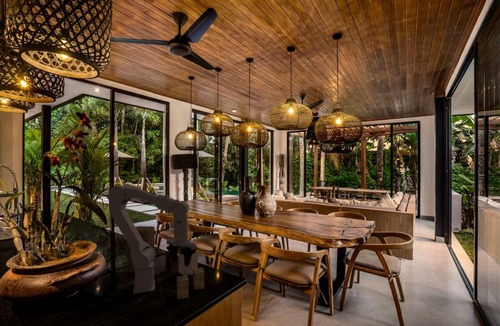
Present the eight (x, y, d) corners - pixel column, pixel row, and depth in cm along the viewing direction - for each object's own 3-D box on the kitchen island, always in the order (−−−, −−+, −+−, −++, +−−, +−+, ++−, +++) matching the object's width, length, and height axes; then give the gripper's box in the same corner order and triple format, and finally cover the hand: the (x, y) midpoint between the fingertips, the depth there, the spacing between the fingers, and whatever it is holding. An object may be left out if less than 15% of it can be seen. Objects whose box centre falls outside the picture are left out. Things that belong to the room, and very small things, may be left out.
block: (146, 273, 118) (147, 231, 118) (125, 273, 118) (125, 230, 118) (155, 265, 128) (155, 225, 128) (135, 265, 128) (136, 225, 128)
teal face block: (176, 294, 99) (176, 276, 99) (187, 292, 101) (187, 275, 101) (177, 299, 96) (177, 281, 96) (188, 297, 97) (188, 279, 97)
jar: (177, 275, 116) (177, 249, 116) (179, 268, 124) (179, 244, 124) (197, 274, 117) (197, 248, 117) (198, 267, 125) (198, 243, 125)
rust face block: (192, 285, 107) (192, 269, 107) (202, 284, 108) (202, 267, 108) (194, 290, 103) (194, 272, 103) (204, 288, 104) (204, 271, 104)
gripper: (160, 231, 105) (160, 263, 105) (187, 235, 98) (187, 270, 98) (173, 227, 111) (173, 258, 111) (199, 231, 104) (199, 264, 104)
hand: (180, 263), depth 105 cm, fingers open, 6 cm apart
